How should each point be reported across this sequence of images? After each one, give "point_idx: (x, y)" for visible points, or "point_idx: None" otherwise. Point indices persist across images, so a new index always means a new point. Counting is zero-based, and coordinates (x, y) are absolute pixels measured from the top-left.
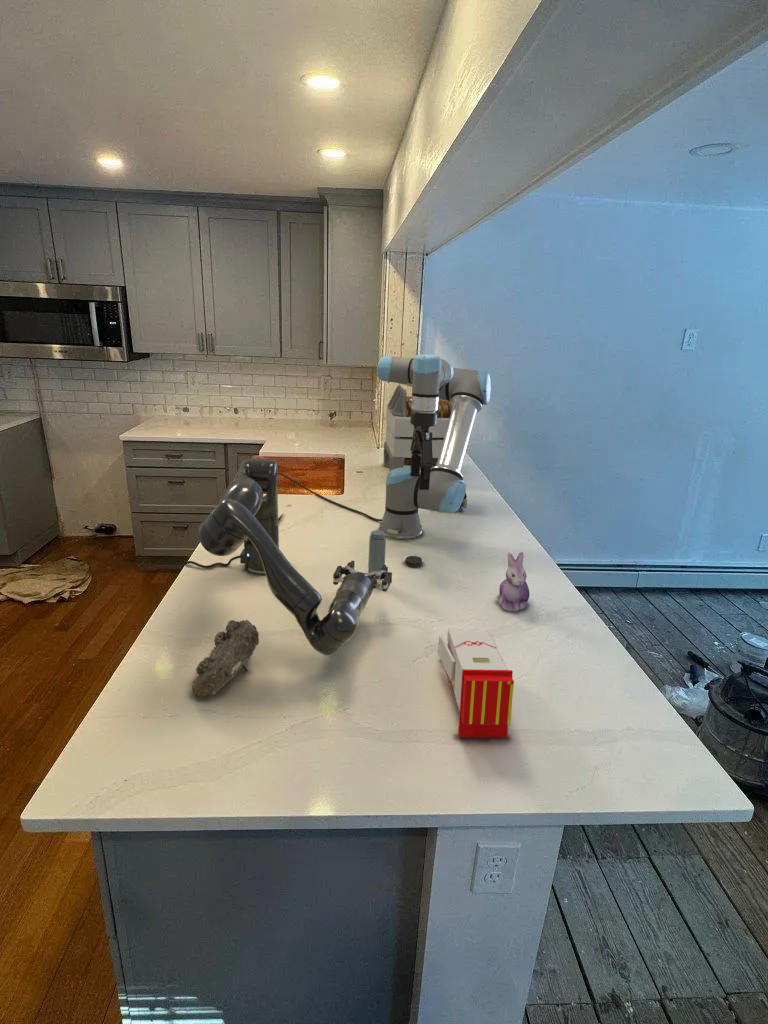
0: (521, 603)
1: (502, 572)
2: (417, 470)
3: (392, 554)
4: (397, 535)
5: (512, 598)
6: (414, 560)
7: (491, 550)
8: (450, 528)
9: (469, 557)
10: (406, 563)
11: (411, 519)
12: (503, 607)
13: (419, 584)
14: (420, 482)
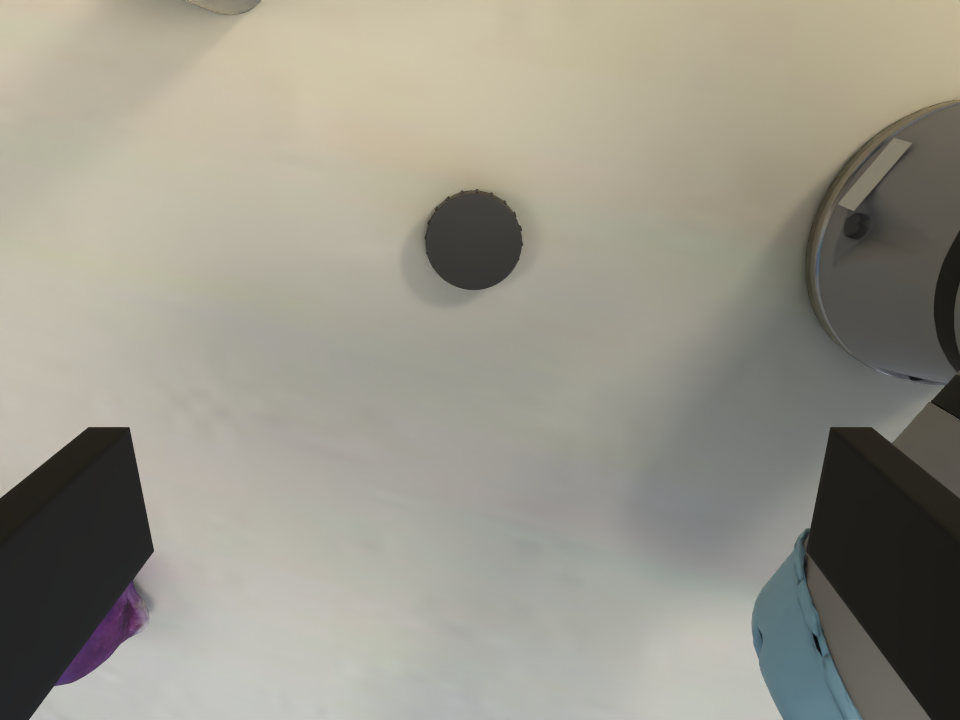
0: None
1: (366, 619)
2: (862, 582)
3: (614, 134)
4: (838, 205)
5: None
6: (455, 243)
7: (604, 641)
8: None
9: (534, 531)
10: (458, 194)
11: (908, 324)
12: None
13: (222, 220)
14: (13, 494)
